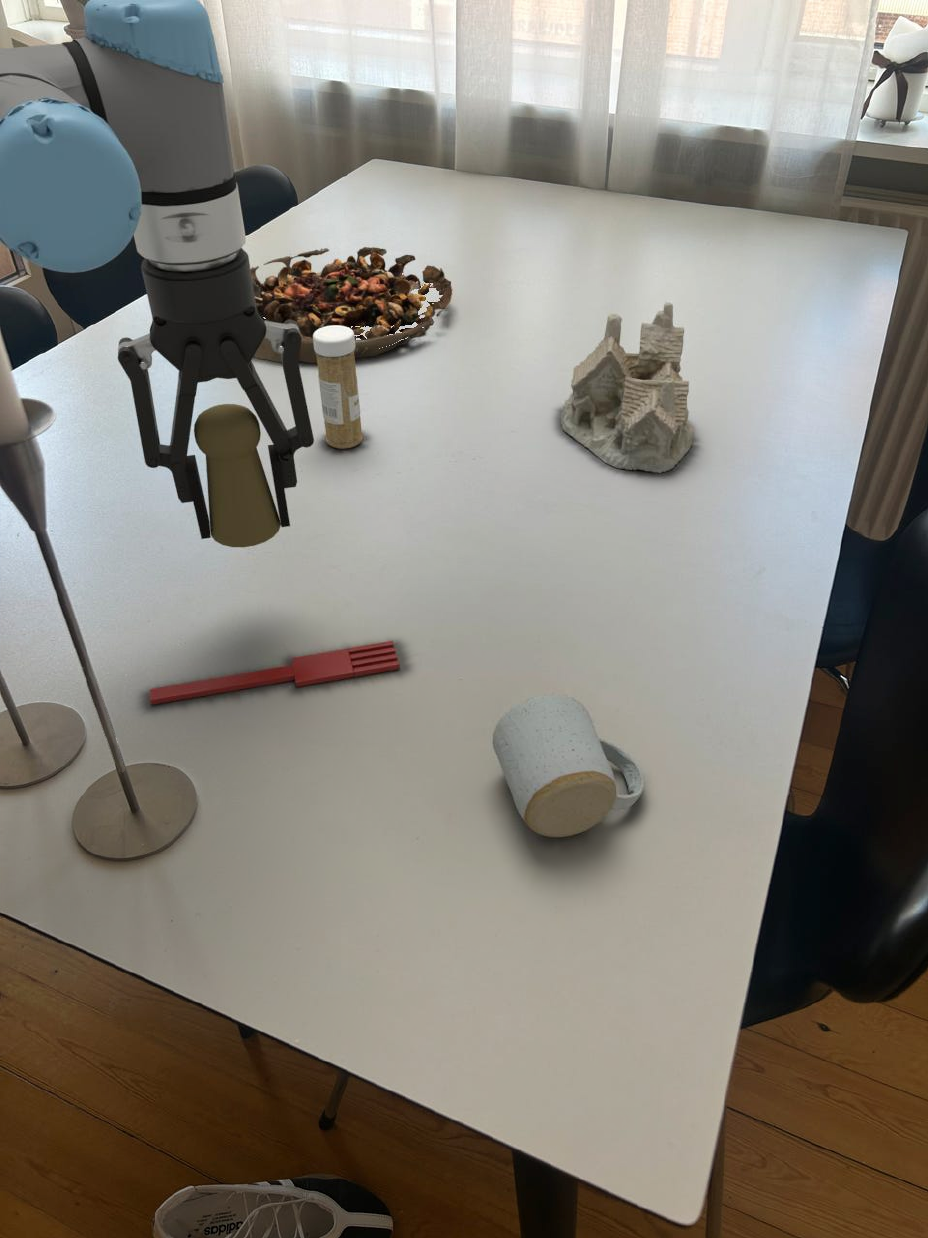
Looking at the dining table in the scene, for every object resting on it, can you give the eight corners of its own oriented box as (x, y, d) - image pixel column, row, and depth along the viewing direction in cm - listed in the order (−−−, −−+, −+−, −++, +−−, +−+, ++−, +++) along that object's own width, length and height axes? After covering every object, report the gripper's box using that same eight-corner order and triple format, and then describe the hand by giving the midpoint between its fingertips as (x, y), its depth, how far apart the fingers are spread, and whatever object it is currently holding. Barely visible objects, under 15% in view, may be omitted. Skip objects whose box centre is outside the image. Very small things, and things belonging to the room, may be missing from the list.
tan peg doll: (196, 526, 84) (170, 411, 76) (256, 499, 87) (235, 387, 80) (234, 556, 80) (210, 438, 73) (294, 527, 83) (277, 412, 76)
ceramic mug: (522, 855, 69) (528, 784, 64) (489, 770, 75) (492, 699, 70) (659, 824, 71) (675, 752, 66) (616, 744, 77) (628, 673, 72)
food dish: (438, 275, 157) (439, 226, 152) (466, 366, 133) (467, 312, 128) (219, 280, 153) (212, 230, 148) (205, 375, 128) (197, 319, 123)
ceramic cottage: (573, 392, 122) (585, 279, 112) (702, 418, 118) (726, 303, 108) (536, 459, 112) (544, 340, 102) (675, 490, 108) (699, 370, 97)
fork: (151, 712, 80) (149, 707, 80) (151, 686, 82) (149, 681, 82) (399, 669, 84) (399, 664, 83) (393, 645, 86) (392, 640, 86)
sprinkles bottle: (370, 443, 114) (361, 334, 105) (336, 454, 112) (324, 344, 103) (351, 427, 117) (341, 320, 108) (318, 437, 115) (305, 329, 106)
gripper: (49, 285, 64) (130, 566, 79) (334, 257, 67) (361, 531, 82) (57, 247, 69) (132, 516, 84) (320, 223, 73) (347, 485, 88)
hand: (244, 523), depth 83 cm, fingers closed on tan peg doll, 6 cm apart
